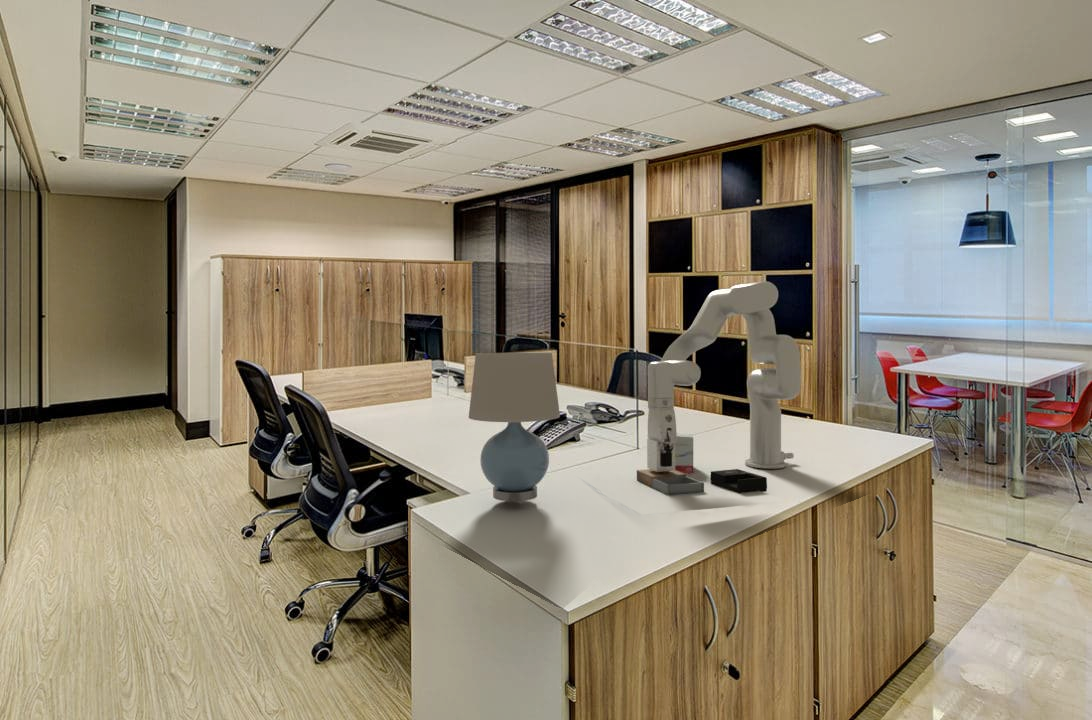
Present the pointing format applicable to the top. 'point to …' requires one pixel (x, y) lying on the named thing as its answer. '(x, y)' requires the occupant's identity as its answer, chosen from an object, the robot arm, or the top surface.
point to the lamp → (514, 419)
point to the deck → (655, 475)
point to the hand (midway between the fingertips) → (661, 463)
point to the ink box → (684, 453)
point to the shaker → (657, 456)
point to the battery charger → (739, 481)
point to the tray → (677, 485)
